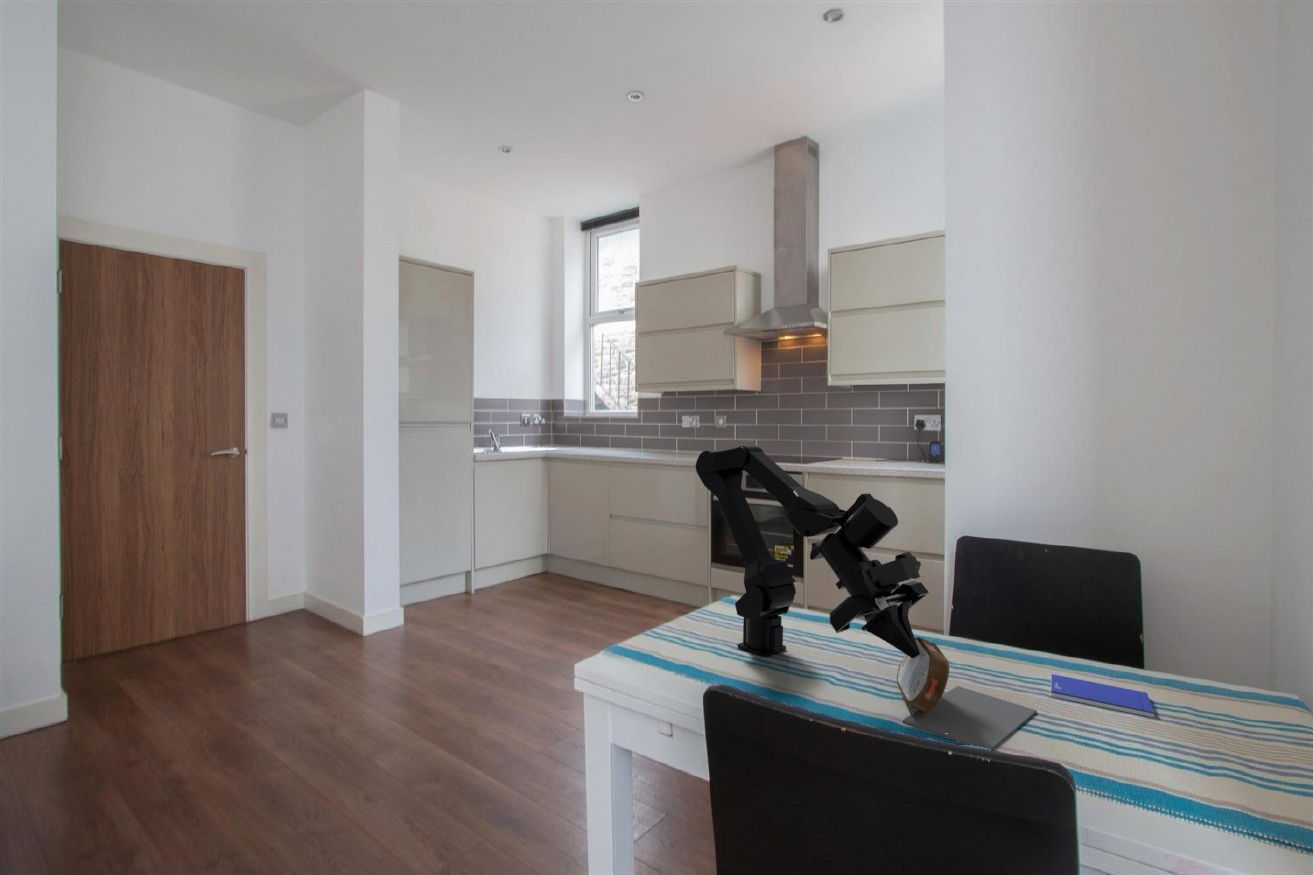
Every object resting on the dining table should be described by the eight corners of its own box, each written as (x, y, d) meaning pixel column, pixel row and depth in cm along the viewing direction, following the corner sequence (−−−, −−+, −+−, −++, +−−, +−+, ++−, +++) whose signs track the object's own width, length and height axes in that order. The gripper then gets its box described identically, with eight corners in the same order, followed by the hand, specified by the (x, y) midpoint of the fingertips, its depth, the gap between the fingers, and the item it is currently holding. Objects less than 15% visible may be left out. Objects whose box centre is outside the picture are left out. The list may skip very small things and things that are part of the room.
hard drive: (1050, 689, 96) (1154, 710, 89) (1051, 672, 103) (1146, 691, 96) (1050, 699, 96) (1153, 721, 89) (1050, 682, 103) (1146, 701, 96)
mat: (902, 721, 86) (902, 719, 86) (957, 687, 98) (957, 685, 98) (988, 753, 78) (988, 751, 78) (1036, 712, 90) (1036, 710, 90)
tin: (928, 724, 84) (959, 670, 84) (906, 711, 85) (937, 657, 84) (907, 685, 99) (933, 639, 98) (888, 674, 99) (914, 628, 99)
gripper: (848, 540, 89) (920, 639, 80) (917, 530, 101) (987, 615, 92) (802, 585, 95) (865, 681, 87) (873, 570, 107) (934, 654, 98)
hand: (916, 656), depth 91 cm, fingers closed
